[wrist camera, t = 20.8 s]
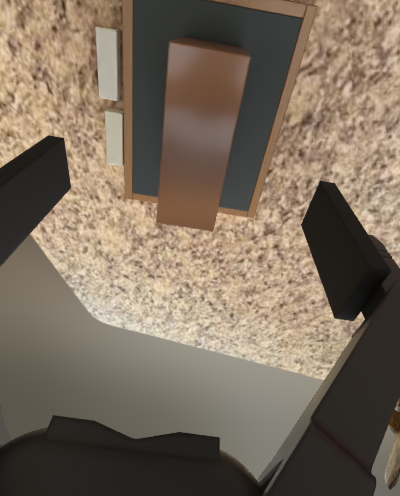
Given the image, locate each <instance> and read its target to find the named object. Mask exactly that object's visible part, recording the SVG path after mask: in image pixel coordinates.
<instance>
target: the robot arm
mask: <svg viewBox="0 0 400 496" xmlns="http://www.w3.org/2000/svg"><path fill="white" fill-rule="evenodd" d="M70 188H71V184H70V177H69V170H68V163H67V156H66V149H65V142H64V138H60V137H54V136H47V137H45V138H44V139H42V140H41V141H40V142H38V143H37V144H35V145H34V146H32V147H31V148H29V149H28V150H26V151H25V152H23V153H22V154H20V155H19V156H17V157H16V158H14V159H13V160H11V161H10V162H9V163H7V164H6V165H4V166H3V167H1V168H0V266H1V265H2V264H3V263H4V262H5V261H6V260H7V259H8V257H9V256H10V255H11V254H12V253H13V252H14V251H15V250H16V249H17V247H18V246H19V245H20V244H21V243H22V242H23V241H24V240H25V238H26V237H27V236H28V235H29V234H30V233H31V232H32V231H33V230H34V229H35V227H36V226H37V225H38V224H39V223H40V222H41V221H42V220H43V218H44V217H45V216H46V215H47V214H48V213H49V212H50V211H51V210H52V208H53V207H54V206H55V205H56V204H57V203H58V202H59V201H60V200H61V198H62V197H63V196H64V195H65V194H66V193H67V192H68V191H69V190H70ZM301 226H302V229H303V232H304V234H305V237H306V240H307V243H308V245H309V248H310V251H311V254H312V257H313V259H314V262H315V265H316V268H317V270H318V273H319V276H320V279H321V282H322V284H323V287H324V290H325V293H326V295H327V298H328V301H329V304H330V307H331V309H332V312H333V315H334V318H336V319H343V320H349V321H354V320H355V318H356V317H357V316H358V315H359V313H360V312H362V314H363V316H364V318H365V320H364V321H363V323H362V324H361V325H360V326H359V328H358V329H357V330H356V331H355V333H354V334H353V335H352V339H351V340H350V342H349V344H348V345H347V347H346V348H345V350H344V351H343V353H342V354H341V356H340V357H339V359H338V360H337V362H336V363H335V365H334V366H333V368H332V369H331V371H330V373H329V374H328V376H327V377H326V379H325V380H324V382H323V383H322V385H321V386H320V388H319V389H318V391H317V392H316V394H315V395H314V397H313V398H312V400H311V402H310V403H309V405H308V406H307V408H306V409H305V411H304V412H303V414H302V415H301V417H300V418H299V420H298V421H297V423H296V425H295V426H294V427H293V429H292V431H291V432H290V434H289V435H288V437H287V438H286V440H285V441H284V443H283V444H282V446H281V447H280V449H279V450H278V452H277V453H276V455H275V456H274V458H273V459H272V461H271V462H270V463H269V465H268V466H267V467H266V469H265V470H264V471H263V473H262V474H261V476H260V477H259V478H258V480H256V479H255V478H254V476H253V475H252V474H251V473H250V472H249V471H248V469H247V468H245V466H243V464H241V463H240V462H239V461H238V460H237V459H235V458H234V457H232V456H231V455H229V454H228V453H226V452H224V451H222V450H220V449H219V447H220V445H219V444H220V438H219V437H212V436H205V435H196V434H189V433H182V432H178V433H171V434H165V435H159V436H153V437H147V438H140V439H134V438H130V437H128V436H126V435H124V434H122V433H120V432H117V431H115V430H113V429H111V428H109V427H107V426H104V425H102V424H100V423H98V422H96V421H91V420H84V419H76V418H69V417H62V416H54V415H53V417H52V419H51V422H50V424H49V426H48V428H43V429H39V430H35V431H32V432H29V433H27V434H24V435H21V436H19V437H17V438H15V439H13V440H10V437H9V434H8V431H7V429H6V426H5V423H4V420H3V416H2V412H1V407H0V496H373V495H374V491H375V488H376V478H375V477H374V476H373V475H372V474H371V469H372V466H373V463H374V460H375V458H376V455H377V453H378V450H379V447H380V445H381V443H382V440H383V437H384V435H385V432H386V430H387V427H388V425H389V422H390V420H391V417H392V415H393V412H394V409H395V407H396V404H397V402H398V399H399V397H400V268H399V267H398V265H397V264H396V262H395V261H394V260H393V259H392V257H391V255H390V254H389V253H387V252H388V251H387V249H386V248H385V246H384V245H383V244H382V243H381V242H380V241H379V240H378V239H377V238H375V237H374V236H373V235H368V234H367V232H366V231H365V229H364V228H363V226H362V225H361V223H360V222H359V220H358V218H357V217H356V215H355V214H354V212H353V211H352V209H351V208H350V206H349V205H348V203H347V202H346V200H345V198H344V197H343V195H342V194H341V192H340V191H339V189H338V188H337V186H336V185H335V183H330V182H324V181H320V182H319V185H318V187H317V189H316V192H315V194H314V196H313V199H312V201H311V203H310V205H309V208H308V210H307V212H306V215H305V217H304V219H303V221H302V224H301Z"/></svg>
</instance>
